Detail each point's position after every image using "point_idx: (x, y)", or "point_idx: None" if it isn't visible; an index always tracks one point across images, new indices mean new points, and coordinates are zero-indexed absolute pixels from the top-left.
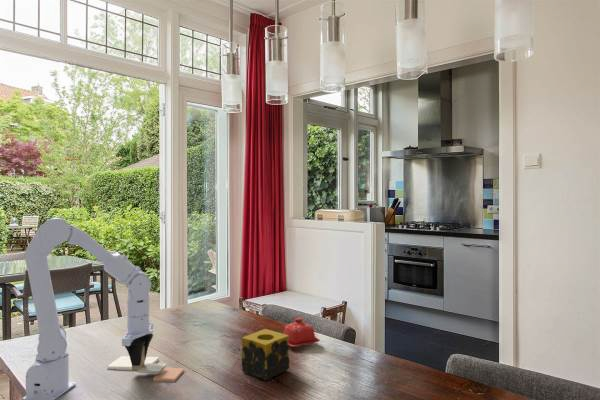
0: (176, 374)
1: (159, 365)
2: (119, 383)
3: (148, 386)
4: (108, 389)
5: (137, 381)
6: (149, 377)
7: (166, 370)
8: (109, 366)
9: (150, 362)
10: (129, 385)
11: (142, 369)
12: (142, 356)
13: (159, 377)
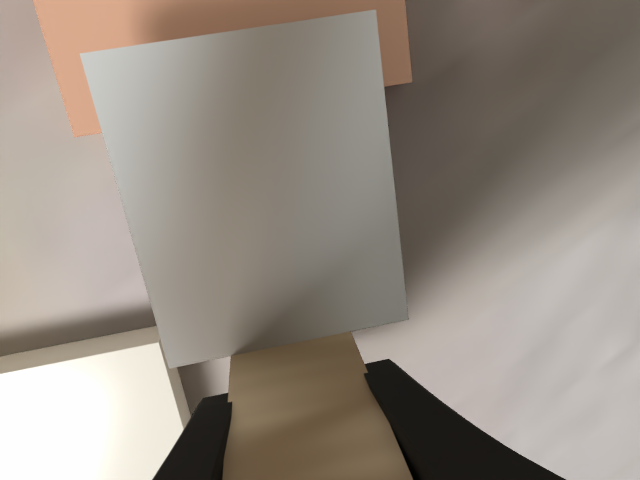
0: None
1: (180, 141)
2: (503, 377)
3: (539, 50)
4: (620, 381)
5: (440, 247)
6: None
7: (148, 38)
8: None
9: (1, 401)
10: (534, 263)
11: (374, 288)
12: (309, 438)
13: (380, 6)
